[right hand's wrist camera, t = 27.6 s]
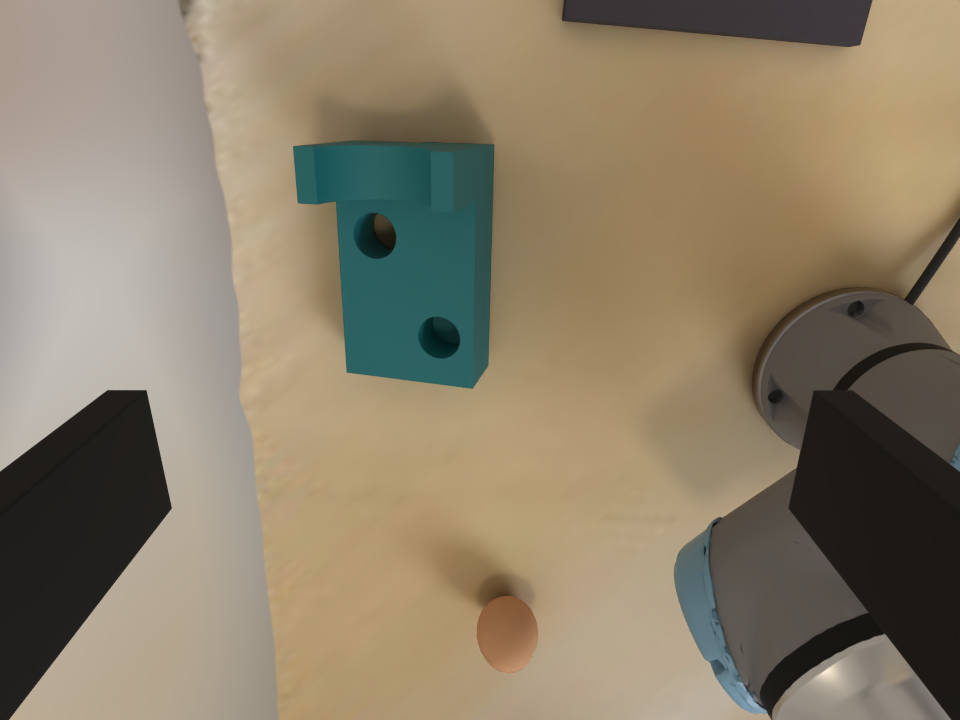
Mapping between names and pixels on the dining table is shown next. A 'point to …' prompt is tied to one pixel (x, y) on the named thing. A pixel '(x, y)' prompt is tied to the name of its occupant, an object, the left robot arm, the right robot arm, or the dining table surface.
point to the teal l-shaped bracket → (410, 253)
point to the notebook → (734, 18)
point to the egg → (507, 633)
